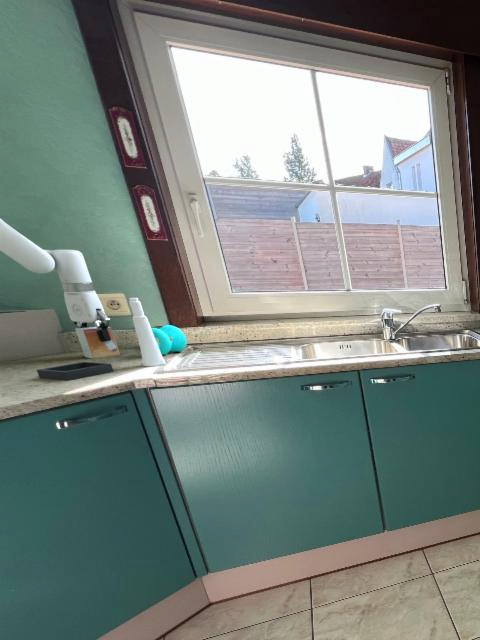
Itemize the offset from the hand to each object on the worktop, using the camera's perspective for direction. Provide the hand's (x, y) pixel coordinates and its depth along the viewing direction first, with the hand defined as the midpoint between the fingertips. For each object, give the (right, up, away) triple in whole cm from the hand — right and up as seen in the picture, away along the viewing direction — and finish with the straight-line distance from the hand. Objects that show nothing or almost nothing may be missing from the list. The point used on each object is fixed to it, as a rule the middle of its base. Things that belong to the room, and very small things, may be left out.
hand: (97, 340), depth 175 cm
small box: (0, -6, +2) cm, 6 cm away
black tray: (+17, -16, -22) cm, 32 cm away
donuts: (+16, -3, +11) cm, 19 cm away
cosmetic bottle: (+27, -10, -6) cm, 29 cm away
